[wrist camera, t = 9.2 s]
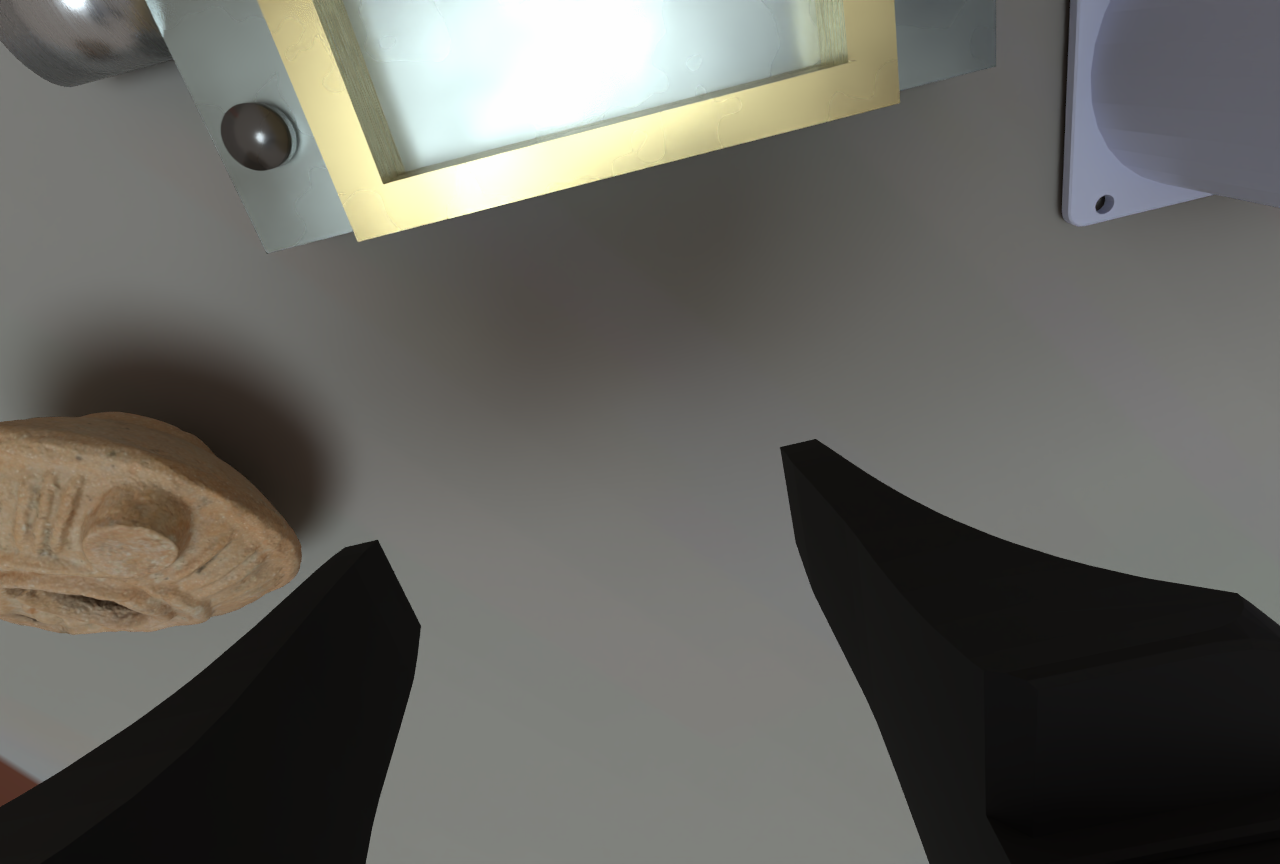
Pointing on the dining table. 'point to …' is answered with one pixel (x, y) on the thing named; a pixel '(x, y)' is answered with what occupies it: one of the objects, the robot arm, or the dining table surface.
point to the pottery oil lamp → (129, 527)
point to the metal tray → (491, 88)
